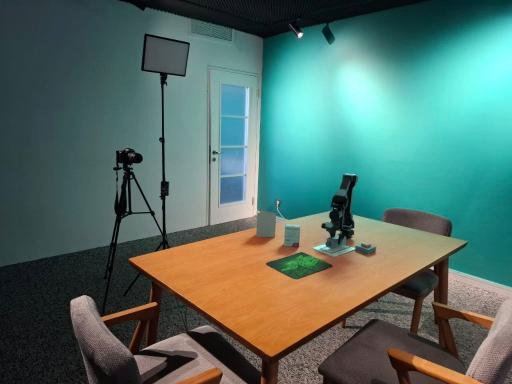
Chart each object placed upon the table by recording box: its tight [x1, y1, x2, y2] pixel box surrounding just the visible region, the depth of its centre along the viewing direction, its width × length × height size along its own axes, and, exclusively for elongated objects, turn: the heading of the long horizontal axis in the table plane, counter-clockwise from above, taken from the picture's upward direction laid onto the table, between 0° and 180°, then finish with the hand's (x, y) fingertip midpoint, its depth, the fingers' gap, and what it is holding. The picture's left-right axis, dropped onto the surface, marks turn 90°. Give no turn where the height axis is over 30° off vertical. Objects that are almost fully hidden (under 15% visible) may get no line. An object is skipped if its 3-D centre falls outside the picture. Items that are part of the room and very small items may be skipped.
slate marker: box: [324, 234, 347, 249], centre depth 192 cm, size 14×4×5 cm, turn 130°
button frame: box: [354, 243, 377, 256], centre depth 191 cm, size 8×8×3 cm
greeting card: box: [255, 210, 277, 238], centre depth 207 cm, size 11×7×15 cm, turn 58°
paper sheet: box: [312, 243, 355, 258], centre depth 192 cm, size 20×15×1 cm
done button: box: [360, 241, 372, 248], centre depth 190 cm, size 4×4×3 cm
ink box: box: [283, 223, 301, 248], centre depth 195 cm, size 9×5×12 cm, turn 84°
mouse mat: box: [265, 251, 333, 280], centre depth 169 cm, size 27×22×1 cm
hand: (336, 243), depth 193 cm, fingers closed on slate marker, 4 cm apart
